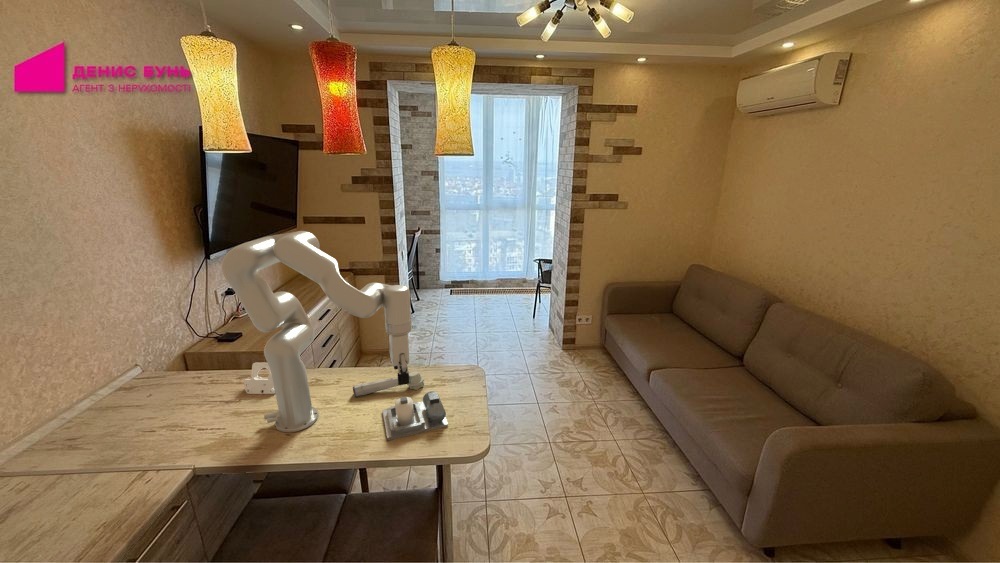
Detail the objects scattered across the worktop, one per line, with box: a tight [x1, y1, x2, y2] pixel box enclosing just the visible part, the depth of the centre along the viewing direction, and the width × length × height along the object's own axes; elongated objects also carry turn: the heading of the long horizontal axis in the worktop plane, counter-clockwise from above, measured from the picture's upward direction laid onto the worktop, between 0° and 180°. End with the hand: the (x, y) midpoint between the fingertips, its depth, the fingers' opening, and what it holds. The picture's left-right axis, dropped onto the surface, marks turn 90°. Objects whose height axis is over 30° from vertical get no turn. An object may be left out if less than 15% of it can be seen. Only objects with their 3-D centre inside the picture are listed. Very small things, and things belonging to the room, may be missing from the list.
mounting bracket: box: [243, 362, 275, 395], centre depth 145 cm, size 12×6×11 cm, turn 91°
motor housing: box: [382, 390, 449, 441], centre depth 128 cm, size 19×15×8 cm
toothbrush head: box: [352, 370, 425, 398], centre depth 145 cm, size 5×7×25 cm
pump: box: [394, 396, 414, 426], centre depth 126 cm, size 6×6×8 cm
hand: (401, 376), depth 122 cm, fingers open, 9 cm apart
